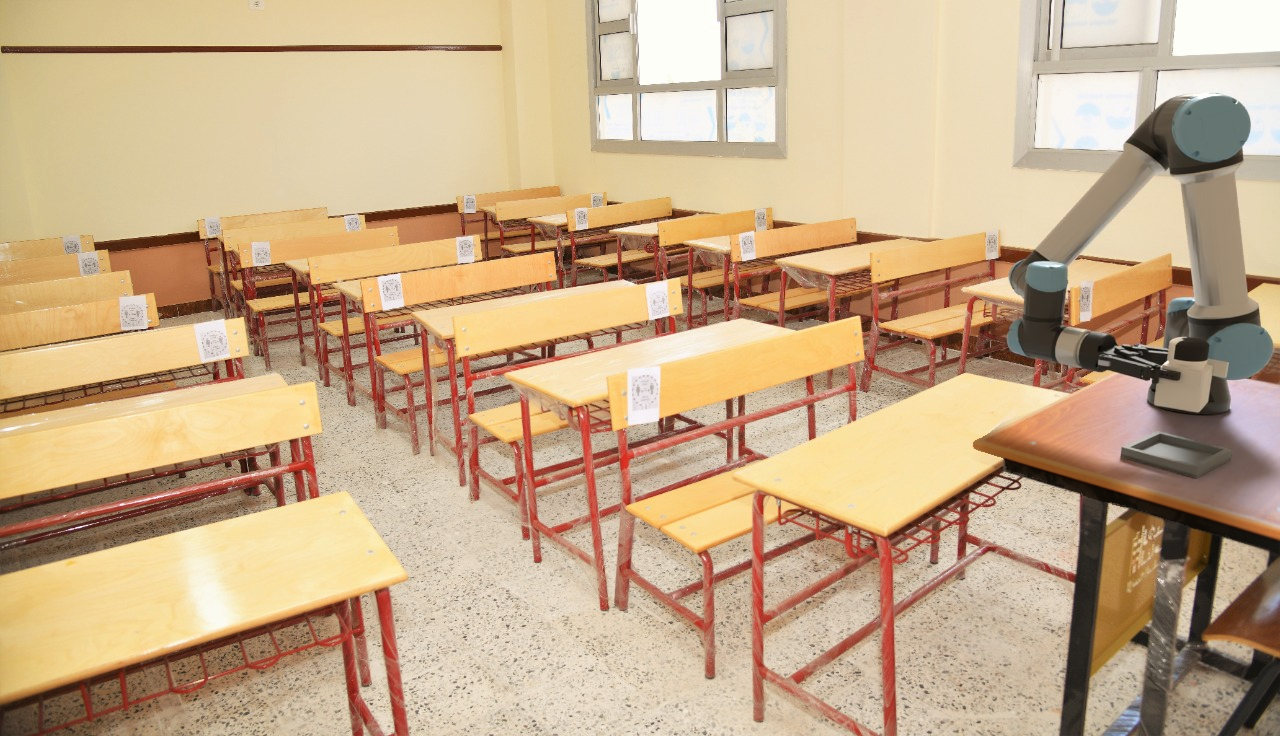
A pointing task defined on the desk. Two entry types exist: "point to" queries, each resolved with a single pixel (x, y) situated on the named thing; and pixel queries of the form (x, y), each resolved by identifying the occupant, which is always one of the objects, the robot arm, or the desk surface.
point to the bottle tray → (1176, 454)
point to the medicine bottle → (1191, 357)
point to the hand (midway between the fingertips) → (1214, 374)
